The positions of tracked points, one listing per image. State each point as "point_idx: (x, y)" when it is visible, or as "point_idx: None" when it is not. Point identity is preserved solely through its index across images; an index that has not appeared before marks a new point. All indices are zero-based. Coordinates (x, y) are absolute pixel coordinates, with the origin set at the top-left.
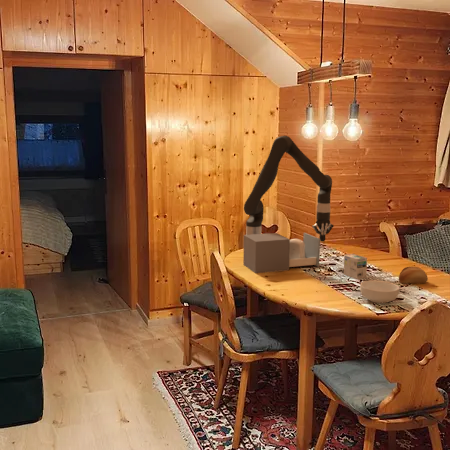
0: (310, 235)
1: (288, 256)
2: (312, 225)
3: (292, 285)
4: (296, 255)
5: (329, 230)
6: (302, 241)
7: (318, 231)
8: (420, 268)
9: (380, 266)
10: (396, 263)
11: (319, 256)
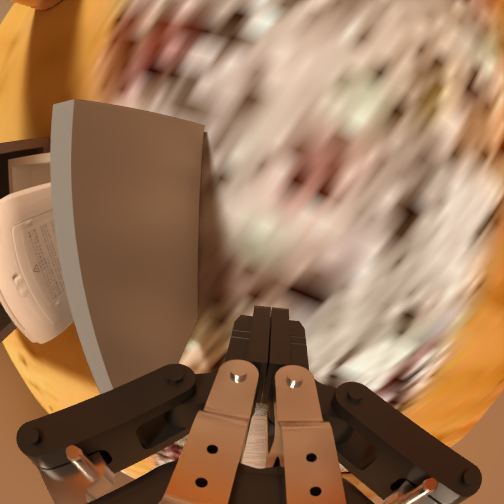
0: (80, 328)
1: None
2: (18, 443)
3: (65, 393)
4: None
5: (361, 460)
6: (34, 339)
7: (155, 437)
8: (374, 496)
9: (442, 379)
10: (500, 357)
11: (181, 355)
